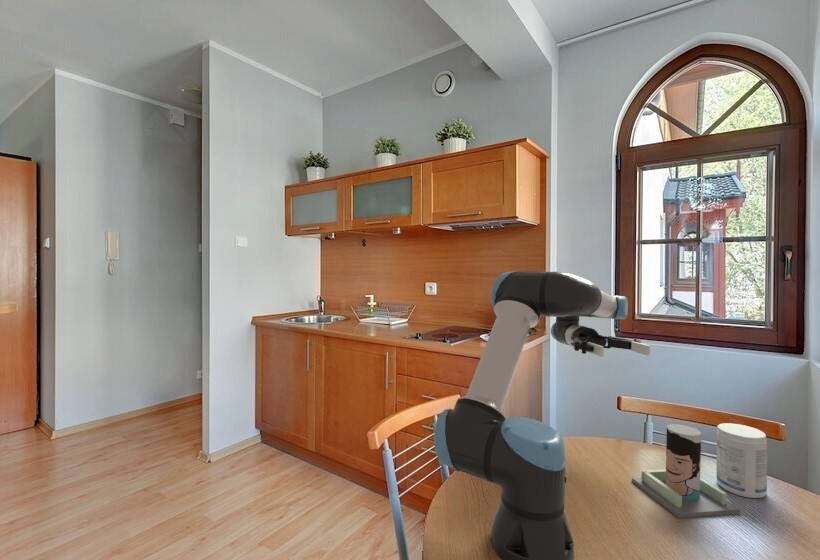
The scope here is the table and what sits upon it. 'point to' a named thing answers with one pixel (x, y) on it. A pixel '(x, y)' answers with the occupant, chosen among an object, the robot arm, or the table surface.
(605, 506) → the table surface
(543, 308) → the robot arm
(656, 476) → the holder
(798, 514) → the table surface
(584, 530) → the table surface
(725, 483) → the supplement tub
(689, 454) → the white printed cylinder
